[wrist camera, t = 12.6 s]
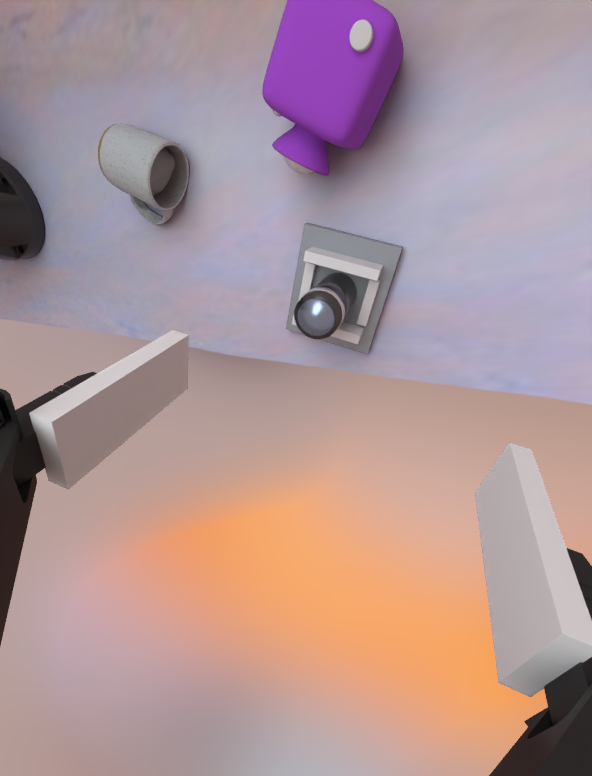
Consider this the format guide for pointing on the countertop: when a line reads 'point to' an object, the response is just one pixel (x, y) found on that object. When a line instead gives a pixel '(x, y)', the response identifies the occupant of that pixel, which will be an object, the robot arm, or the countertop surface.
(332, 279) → the lens
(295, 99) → the toy camera
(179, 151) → the ceramic mug
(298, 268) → the mount
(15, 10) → the countertop surface
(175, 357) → the robot arm
